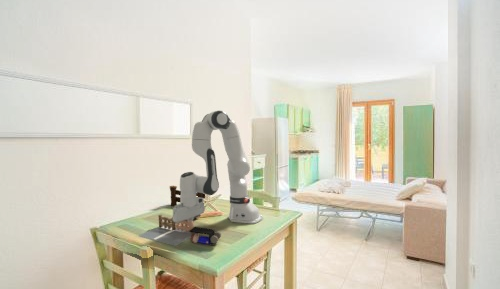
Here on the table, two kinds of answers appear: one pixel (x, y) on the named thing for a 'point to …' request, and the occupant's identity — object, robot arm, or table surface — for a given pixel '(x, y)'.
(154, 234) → the card
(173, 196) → the decorative fence
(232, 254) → the table surface
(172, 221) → the fixed fence section
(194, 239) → the figurine character
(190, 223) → the hinged fence panel
